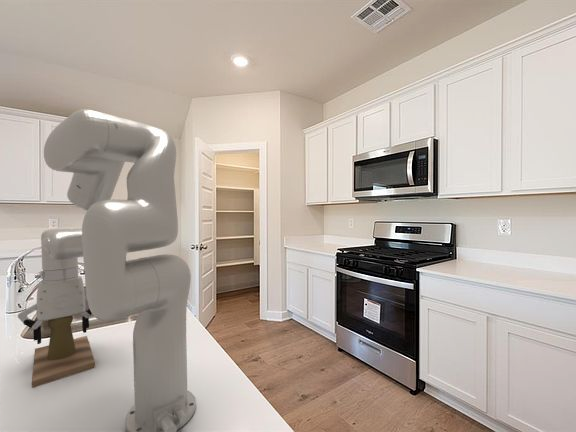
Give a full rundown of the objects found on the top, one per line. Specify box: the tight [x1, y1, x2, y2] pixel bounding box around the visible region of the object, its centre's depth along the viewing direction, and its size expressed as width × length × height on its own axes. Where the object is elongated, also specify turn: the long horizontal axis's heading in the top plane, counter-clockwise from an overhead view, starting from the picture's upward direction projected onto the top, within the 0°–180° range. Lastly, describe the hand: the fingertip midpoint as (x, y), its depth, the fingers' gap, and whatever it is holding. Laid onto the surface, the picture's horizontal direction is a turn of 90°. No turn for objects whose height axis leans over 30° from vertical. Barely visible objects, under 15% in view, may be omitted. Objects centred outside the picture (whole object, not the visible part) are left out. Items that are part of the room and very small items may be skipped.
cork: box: [47, 315, 76, 360], centre depth 75 cm, size 6×6×11 cm
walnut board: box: [31, 335, 96, 389], centre depth 75 cm, size 20×12×2 cm, turn 41°
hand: (62, 336), depth 76 cm, fingers open, 9 cm apart
